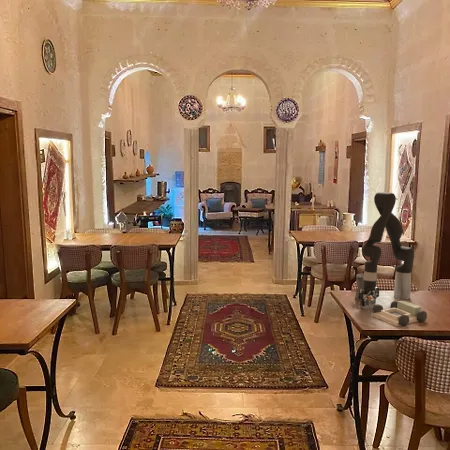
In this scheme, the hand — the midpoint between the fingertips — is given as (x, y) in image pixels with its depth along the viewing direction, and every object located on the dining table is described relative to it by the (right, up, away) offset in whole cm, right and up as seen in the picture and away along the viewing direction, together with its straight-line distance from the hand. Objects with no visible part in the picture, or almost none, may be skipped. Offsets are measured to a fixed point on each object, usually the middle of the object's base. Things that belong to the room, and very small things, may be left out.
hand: (368, 305), depth 263 cm
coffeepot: (+3, +1, +19) cm, 19 cm away
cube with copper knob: (0, -2, 0) cm, 2 cm away
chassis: (+12, -4, -16) cm, 20 cm away
